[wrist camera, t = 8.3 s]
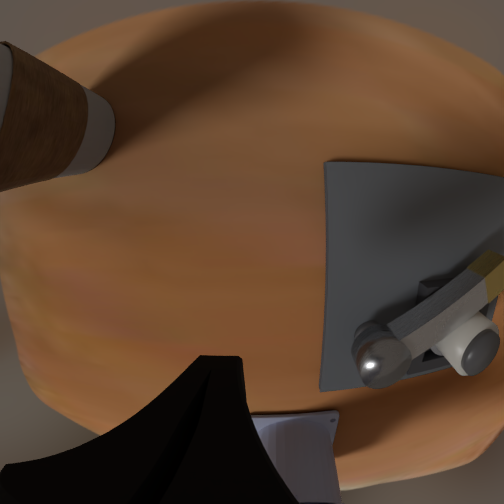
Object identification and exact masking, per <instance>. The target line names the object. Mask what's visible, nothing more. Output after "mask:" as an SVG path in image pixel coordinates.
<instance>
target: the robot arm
mask: <svg viewBox="0 0 504 504" xmlns="http://www.w3.org/2000/svg"><path fill="white" fill-rule="evenodd" d="M338 420H339V412H338V411H336V410H333V411H324V412H313V413H301V414H283V415H250V412H249V409H248V405H247V402H246V391H245V381H244V372H243V362H242V359H241V358H240V357H239V356H207V355H200V356H199V357H198V358H197V359H196V360H195V361H194V362H193V363H192V364H191V365H190V366H189V367H188V368H187V369H186V370H185V371H184V372H183V373H182V374H181V375H180V376H179V377H178V378H177V379H176V380H175V381H174V382H173V383H171V384H170V385H169V386H168V387H167V388H166V389H165V390H164V391H163V392H162V393H161V394H160V395H158V396H157V397H156V398H155V399H154V400H153V401H151V402H150V403H149V404H148V405H146V406H145V407H144V408H143V409H141V410H140V411H139V412H138V413H136V414H135V415H134V416H132V417H131V418H129V419H128V420H126V421H125V422H123V423H122V424H120V425H118V426H117V427H115V428H114V429H112V430H110V431H109V432H107V433H105V434H103V435H101V436H99V437H97V438H95V439H93V440H91V441H89V442H87V443H84V444H82V445H81V446H78V447H76V448H73V449H70V450H67V451H65V452H62V453H59V454H56V455H52V456H49V457H45V458H41V459H37V460H32V461H26V462H20V463H13V464H6V465H5V466H4V468H3V469H2V470H1V472H0V504H344V503H342V500H341V494H340V488H339V482H338V476H337V470H336V464H335V458H334V453H333V447H332V445H333V441H334V437H335V433H336V429H337V424H338Z"/></svg>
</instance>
